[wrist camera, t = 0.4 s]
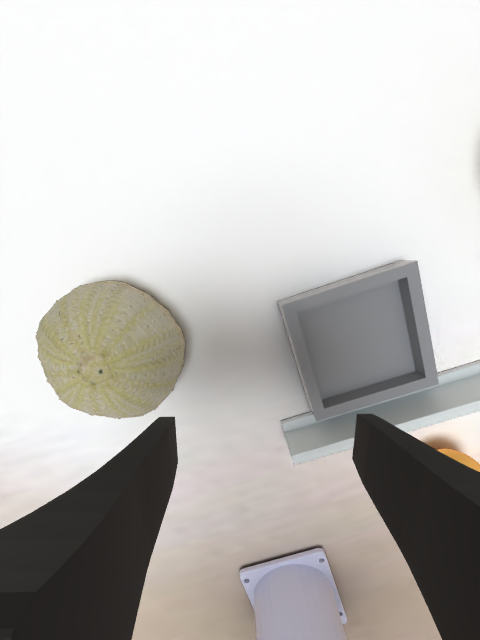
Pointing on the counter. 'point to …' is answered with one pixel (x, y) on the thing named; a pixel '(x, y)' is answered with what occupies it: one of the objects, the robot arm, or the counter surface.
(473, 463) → the ball
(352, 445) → the divider
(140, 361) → the sea urchin shell
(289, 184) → the counter surface
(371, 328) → the dish
